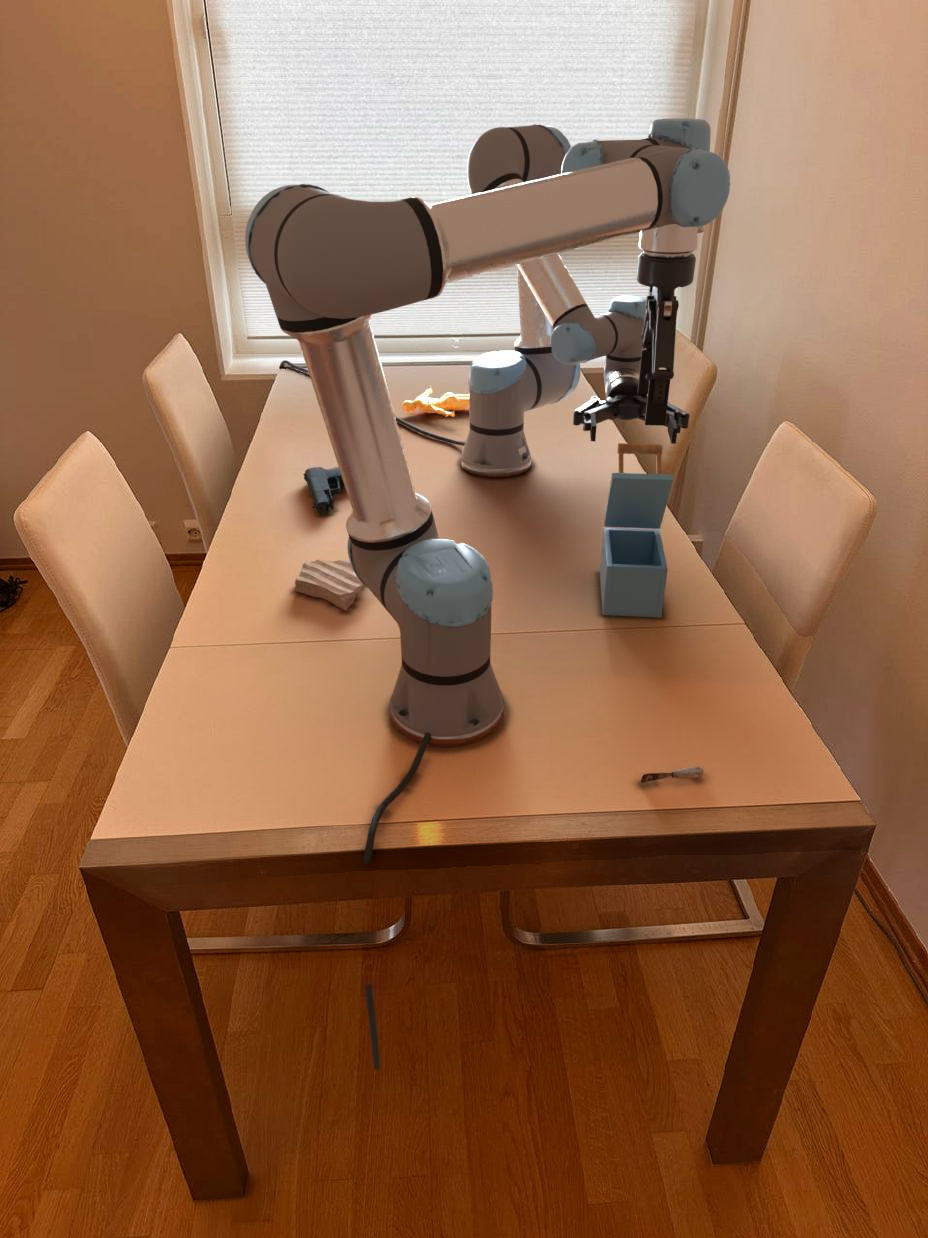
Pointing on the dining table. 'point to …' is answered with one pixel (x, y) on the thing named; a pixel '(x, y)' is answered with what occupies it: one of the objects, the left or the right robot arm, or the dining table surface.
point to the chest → (632, 572)
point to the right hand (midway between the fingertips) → (633, 434)
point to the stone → (329, 581)
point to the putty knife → (674, 774)
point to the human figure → (437, 403)
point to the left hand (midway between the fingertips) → (650, 408)
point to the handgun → (323, 487)
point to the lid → (638, 492)
